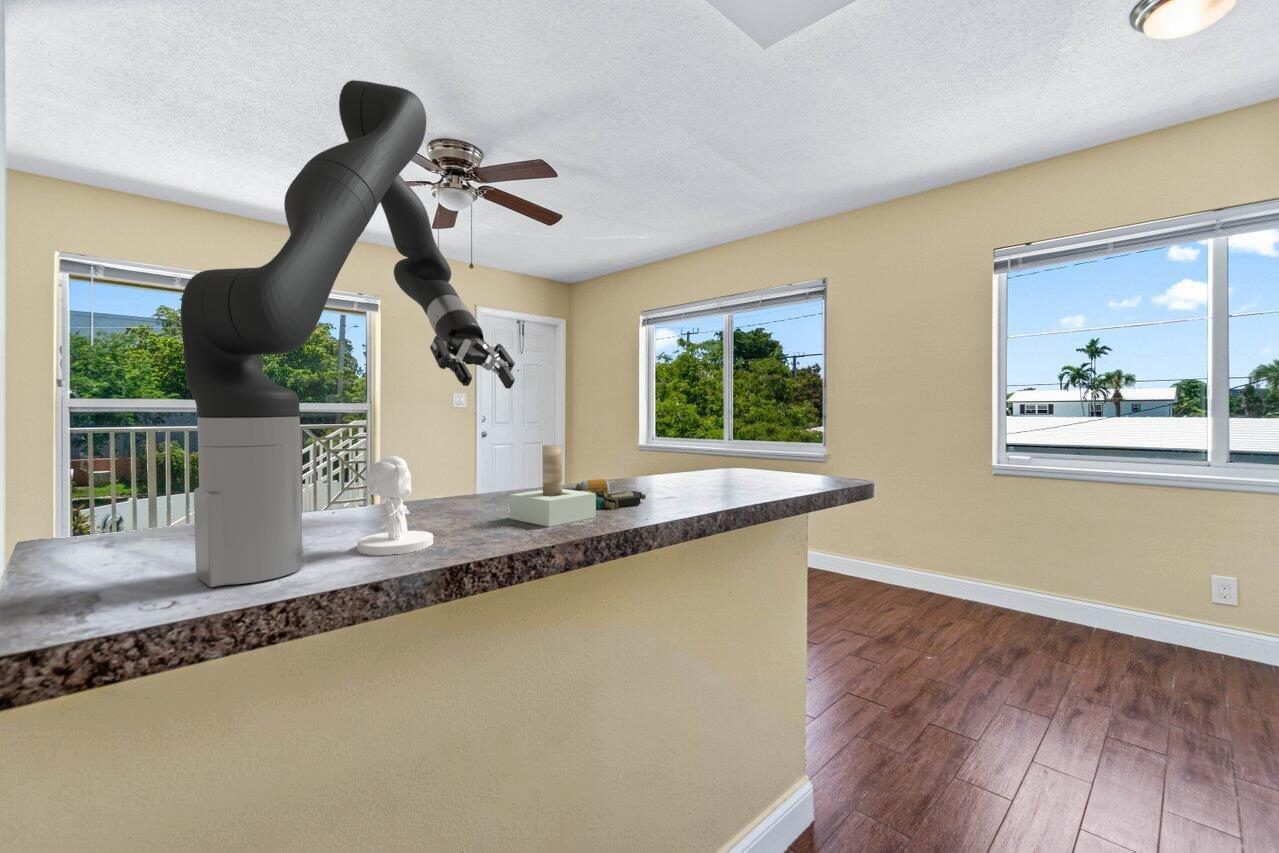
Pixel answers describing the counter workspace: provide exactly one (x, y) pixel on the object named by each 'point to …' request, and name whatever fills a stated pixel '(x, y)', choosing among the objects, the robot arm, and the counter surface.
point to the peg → (552, 470)
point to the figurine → (392, 510)
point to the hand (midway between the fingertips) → (490, 383)
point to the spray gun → (608, 494)
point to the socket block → (552, 507)
